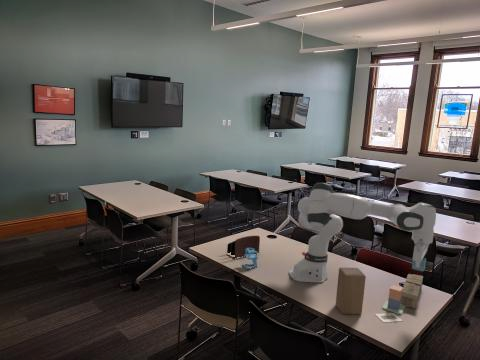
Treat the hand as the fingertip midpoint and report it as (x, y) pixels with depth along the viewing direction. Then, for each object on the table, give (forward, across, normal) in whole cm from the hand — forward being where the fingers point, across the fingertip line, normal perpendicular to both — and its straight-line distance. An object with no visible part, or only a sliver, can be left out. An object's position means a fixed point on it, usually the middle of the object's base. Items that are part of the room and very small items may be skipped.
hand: (418, 265), depth 171 cm
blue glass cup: (+25, -4, +91) cm, 95 cm away
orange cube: (+19, 0, +8) cm, 21 cm away
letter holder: (+25, +11, +106) cm, 110 cm away
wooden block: (+25, -16, +26) cm, 40 cm away
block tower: (+26, +20, +4) cm, 33 cm away
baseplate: (+25, 0, +8) cm, 26 cm away
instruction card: (+25, -11, +8) cm, 29 cm away
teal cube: (+2, 0, 0) cm, 2 cm away
